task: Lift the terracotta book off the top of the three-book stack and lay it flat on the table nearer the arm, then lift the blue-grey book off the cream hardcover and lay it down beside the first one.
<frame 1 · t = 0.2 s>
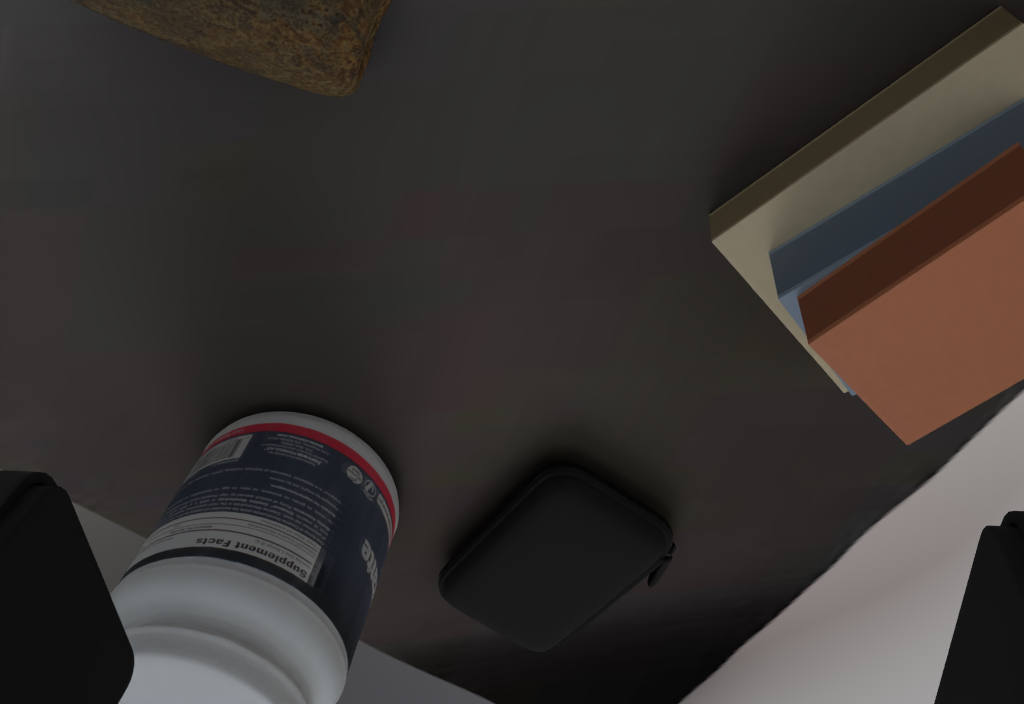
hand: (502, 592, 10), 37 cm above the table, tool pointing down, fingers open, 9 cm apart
supplement tub: (307, 478, 60), on the table
carrying case: (560, 546, 60), on the table
cream hardcover: (908, 203, 45), on the table, touching grey blue book
terracotta book: (947, 277, 38), point 7 cm above the table, touching grey blue book
grey blue book: (922, 231, 42), point 3 cm above the table, touching cream hardcover, terracotta book
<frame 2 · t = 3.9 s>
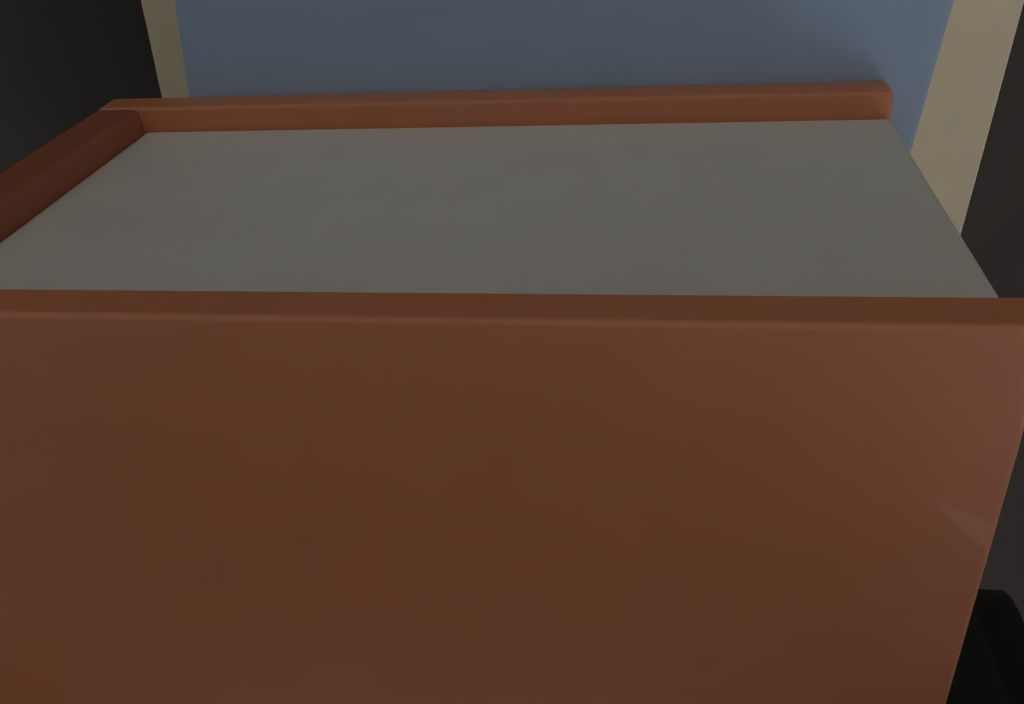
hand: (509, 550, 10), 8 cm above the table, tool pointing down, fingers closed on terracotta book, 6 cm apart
cream hardcover: (568, 241, 17), on the table, touching grey blue book
terracotta book: (513, 530, 11), point 7 cm above the table, touching grey blue book, gripper
grey blue book: (551, 328, 14), point 3 cm above the table, touching cream hardcover, terracotta book
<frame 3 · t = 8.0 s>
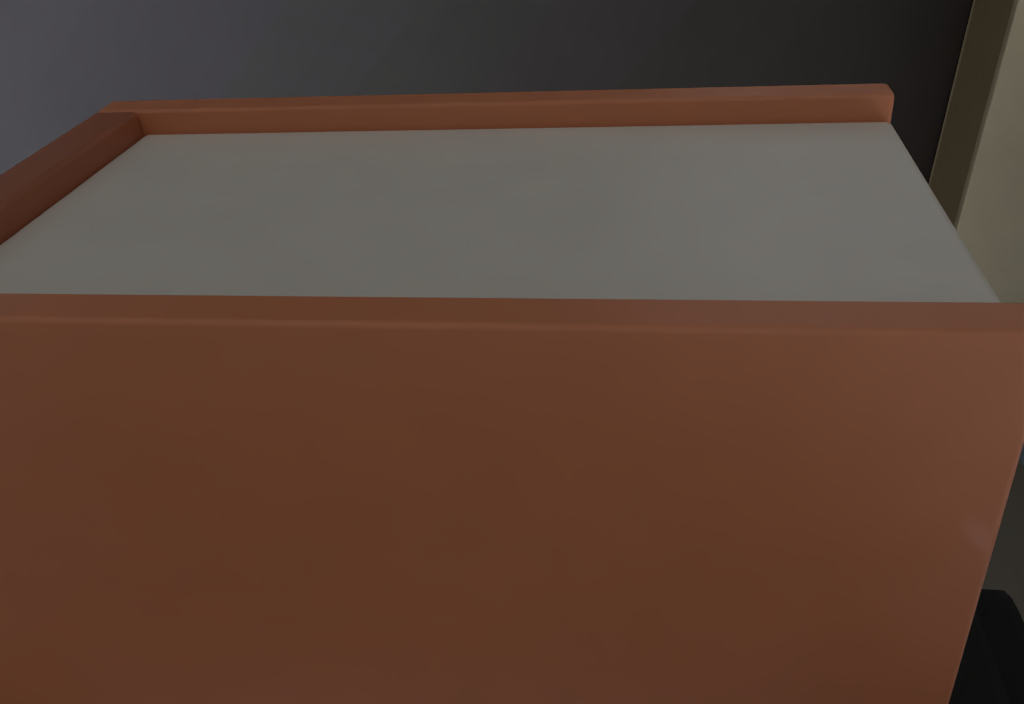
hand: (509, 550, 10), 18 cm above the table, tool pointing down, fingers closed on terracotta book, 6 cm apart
terracotta book: (513, 532, 11), point 18 cm above the table, touching gripper
when the fingers open (0 cm above the table, at t = 12.4 s): terracotta book stays where it is, on the table.
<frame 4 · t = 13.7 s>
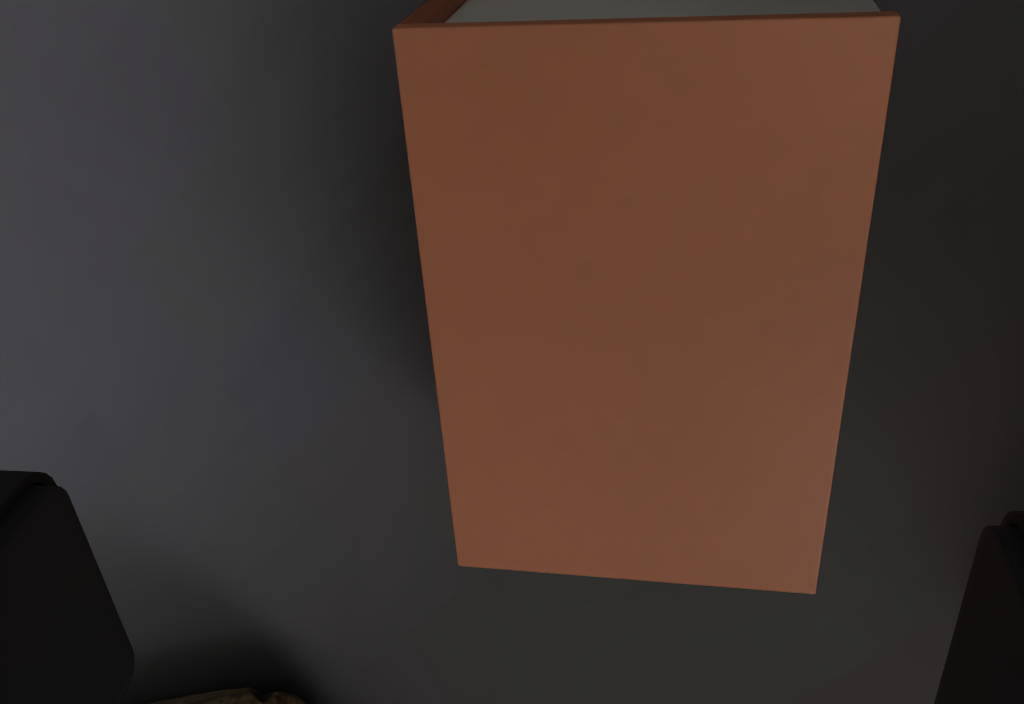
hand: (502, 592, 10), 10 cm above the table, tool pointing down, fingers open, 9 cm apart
terracotta book: (644, 247, 18), on the table
when the fingers open (1 cm above the table, at t = 25.9 s): grey blue book stays where it is, on the table.
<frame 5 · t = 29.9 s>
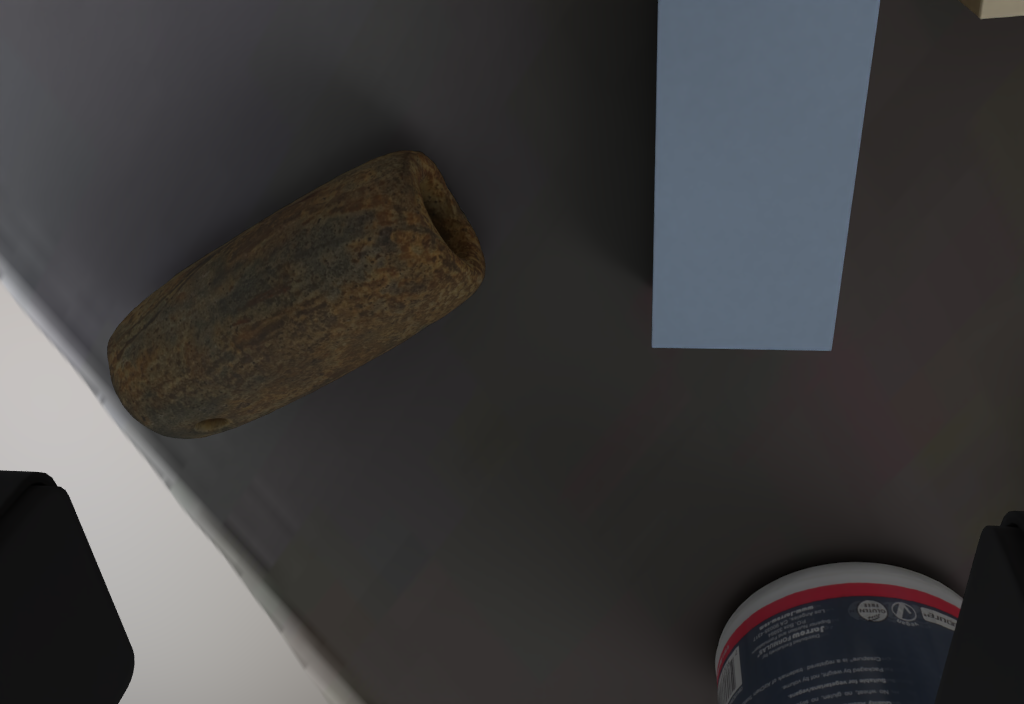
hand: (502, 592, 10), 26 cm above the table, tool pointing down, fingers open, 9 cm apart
supplement tub: (844, 637, 46), on the table
brown vase: (321, 263, 39), on the table
grey blue book: (742, 142, 34), on the table
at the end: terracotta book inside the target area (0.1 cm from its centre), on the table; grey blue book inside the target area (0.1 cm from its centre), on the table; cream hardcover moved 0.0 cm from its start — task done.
